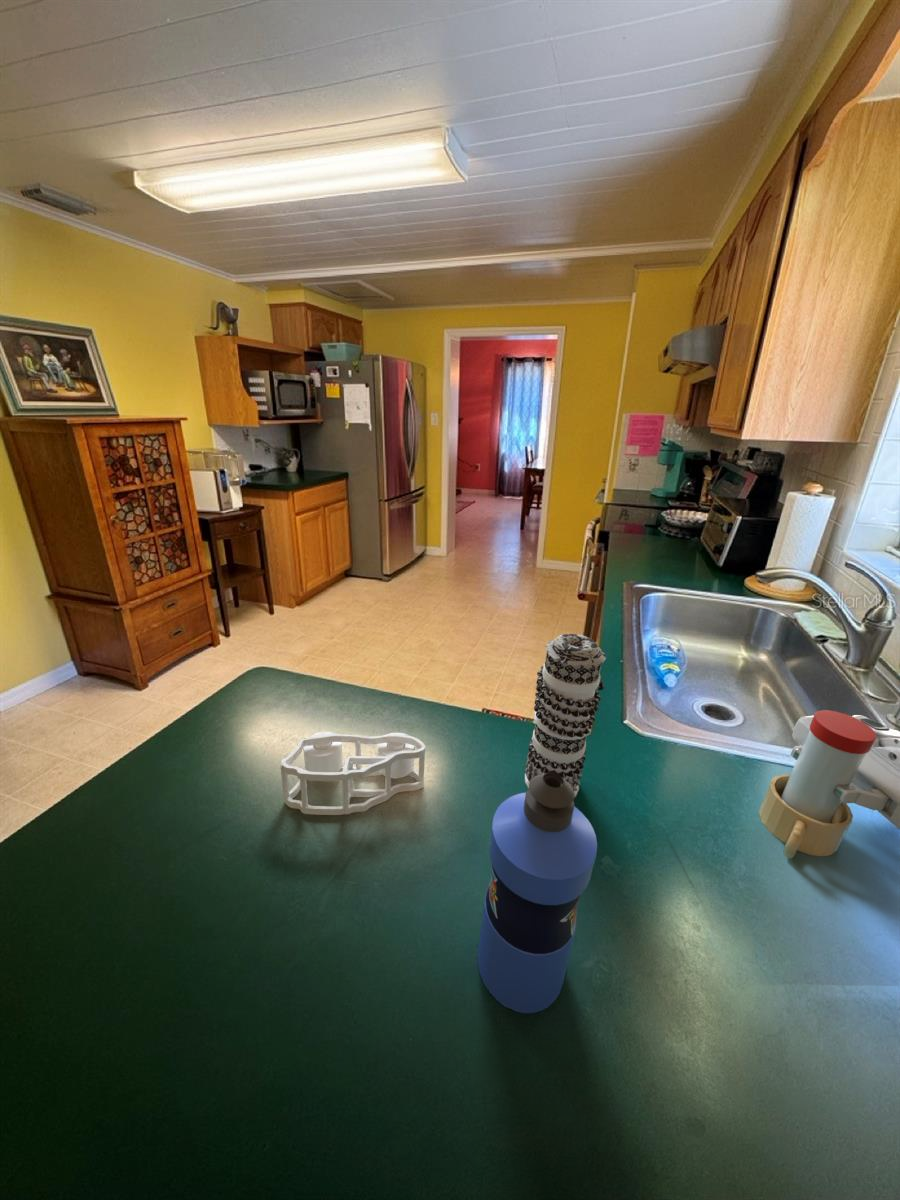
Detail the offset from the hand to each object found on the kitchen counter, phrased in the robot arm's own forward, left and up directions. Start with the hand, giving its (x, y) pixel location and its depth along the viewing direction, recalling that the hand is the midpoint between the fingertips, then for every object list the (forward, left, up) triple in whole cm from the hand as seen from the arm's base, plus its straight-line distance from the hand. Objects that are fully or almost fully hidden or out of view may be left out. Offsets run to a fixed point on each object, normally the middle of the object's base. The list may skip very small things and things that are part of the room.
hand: (816, 772), depth 64 cm
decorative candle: (+33, -8, -11) cm, 36 cm away
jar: (-1, 0, -10) cm, 10 cm away
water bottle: (+42, +18, -11) cm, 47 cm away
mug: (0, +1, -11) cm, 11 cm away
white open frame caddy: (+63, -6, -11) cm, 64 cm away
